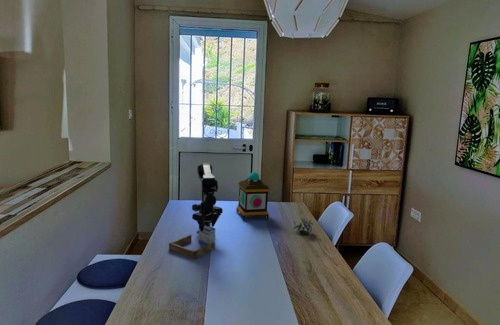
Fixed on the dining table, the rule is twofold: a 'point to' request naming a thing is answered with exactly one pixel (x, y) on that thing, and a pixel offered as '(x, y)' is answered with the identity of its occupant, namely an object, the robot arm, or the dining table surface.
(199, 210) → the robot arm
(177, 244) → the frame
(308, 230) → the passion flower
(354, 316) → the dining table surface
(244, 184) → the decorative lantern
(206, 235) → the medicine box
